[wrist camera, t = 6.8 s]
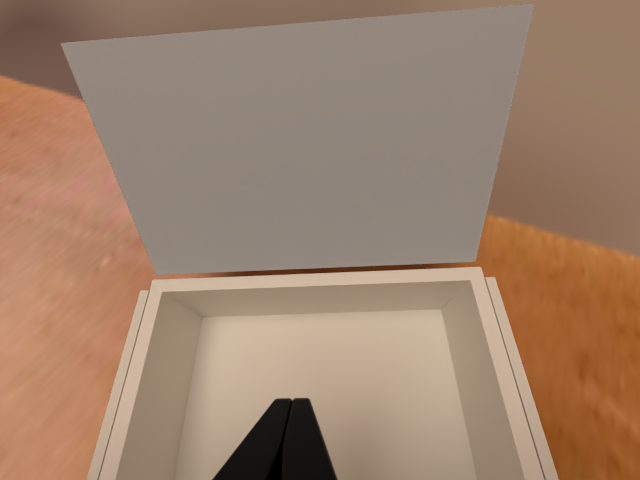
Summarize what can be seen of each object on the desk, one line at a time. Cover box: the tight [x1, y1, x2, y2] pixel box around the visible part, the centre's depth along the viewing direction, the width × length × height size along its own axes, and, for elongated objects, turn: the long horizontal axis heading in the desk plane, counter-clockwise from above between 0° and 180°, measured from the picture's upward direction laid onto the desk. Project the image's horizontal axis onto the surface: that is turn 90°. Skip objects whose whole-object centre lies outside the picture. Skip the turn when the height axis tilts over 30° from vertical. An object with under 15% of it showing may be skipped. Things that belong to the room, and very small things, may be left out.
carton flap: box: [61, 4, 534, 275], centre depth 12 cm, size 9×14×1 cm
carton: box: [87, 267, 559, 480], centre depth 13 cm, size 12×16×5 cm
